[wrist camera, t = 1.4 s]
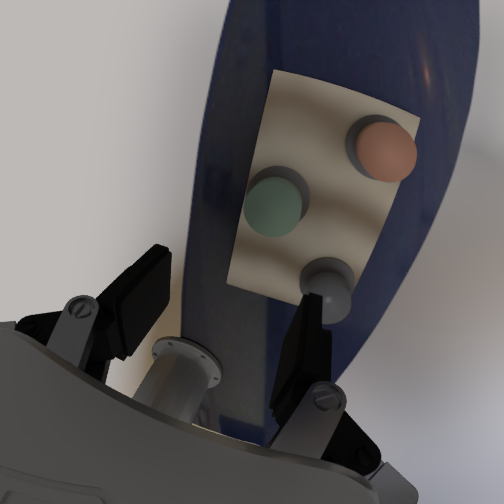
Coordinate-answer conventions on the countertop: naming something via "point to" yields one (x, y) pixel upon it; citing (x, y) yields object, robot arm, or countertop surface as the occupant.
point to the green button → (273, 207)
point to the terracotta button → (386, 151)
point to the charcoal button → (331, 295)
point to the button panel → (315, 187)
